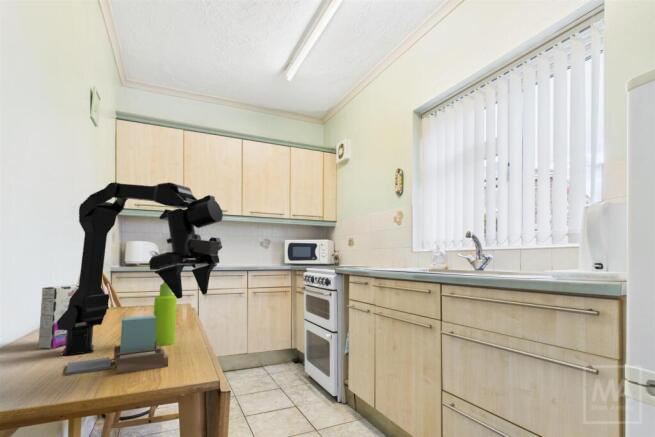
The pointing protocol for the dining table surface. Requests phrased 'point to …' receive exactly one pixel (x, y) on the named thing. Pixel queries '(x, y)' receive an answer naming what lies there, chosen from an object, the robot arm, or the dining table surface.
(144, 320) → the light blue rectangular prism
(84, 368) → the slate mat
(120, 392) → the dining table surface
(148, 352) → the gray notched block
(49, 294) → the candy bar box
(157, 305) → the soap dispenser
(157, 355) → the walnut rack
